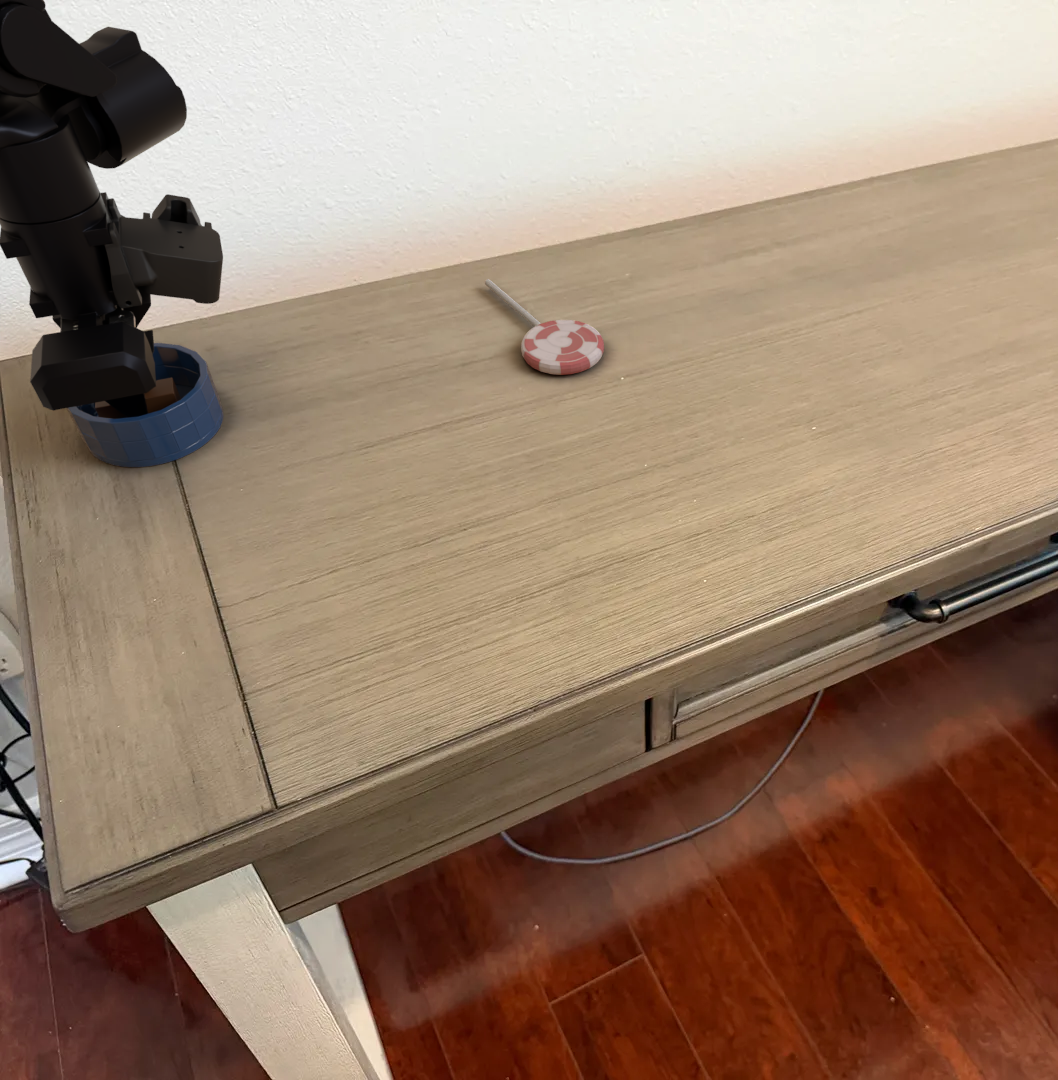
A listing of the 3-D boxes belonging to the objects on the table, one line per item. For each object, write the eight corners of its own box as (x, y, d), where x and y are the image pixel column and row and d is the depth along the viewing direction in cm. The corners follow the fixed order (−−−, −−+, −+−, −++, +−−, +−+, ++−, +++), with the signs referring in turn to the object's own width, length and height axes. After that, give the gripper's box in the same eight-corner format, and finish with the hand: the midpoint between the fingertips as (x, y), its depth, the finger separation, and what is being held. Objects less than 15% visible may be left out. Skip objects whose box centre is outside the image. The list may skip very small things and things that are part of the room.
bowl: (85, 480, 71) (61, 435, 68) (86, 401, 77) (64, 356, 74) (228, 451, 74) (211, 406, 71) (218, 376, 79) (202, 332, 77)
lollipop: (520, 265, 90) (620, 346, 82) (521, 276, 91) (620, 357, 83) (452, 288, 87) (549, 375, 79) (454, 299, 88) (550, 386, 80)
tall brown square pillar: (184, 420, 74) (173, 393, 72) (107, 435, 72) (94, 408, 71) (183, 404, 75) (172, 377, 74) (107, 418, 74) (94, 391, 72)
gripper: (202, 255, 59) (274, 464, 70) (183, 121, 70) (248, 318, 82) (-23, 289, 55) (91, 503, 66) (-2, 142, 67) (91, 345, 78)
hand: (139, 408), depth 73 cm, fingers closed on tall brown square pillar, 2 cm apart
